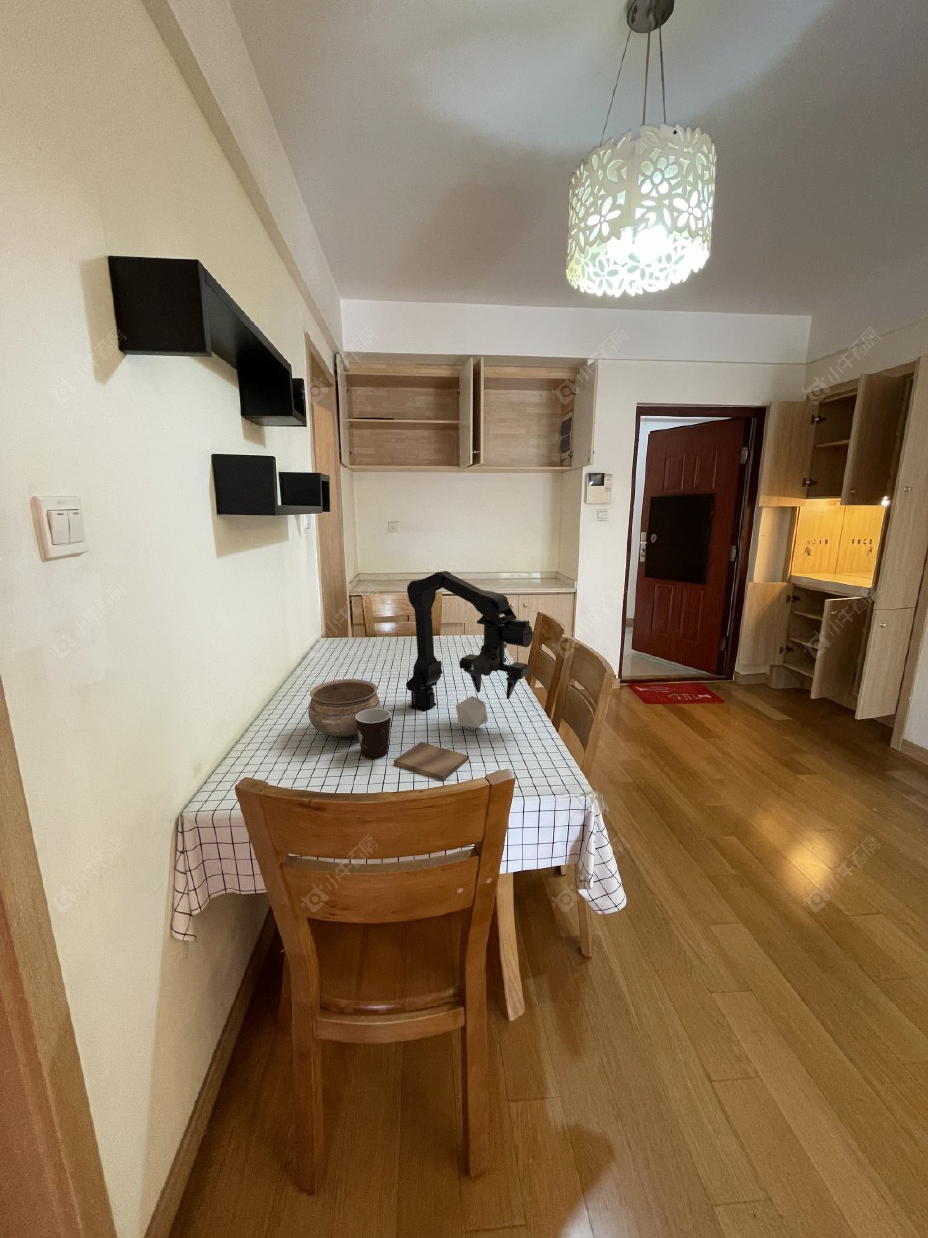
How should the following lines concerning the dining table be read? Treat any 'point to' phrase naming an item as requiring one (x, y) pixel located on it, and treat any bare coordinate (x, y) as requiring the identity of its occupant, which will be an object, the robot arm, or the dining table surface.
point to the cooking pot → (341, 705)
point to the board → (431, 761)
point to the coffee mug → (373, 732)
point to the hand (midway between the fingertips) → (493, 695)
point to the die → (471, 713)
